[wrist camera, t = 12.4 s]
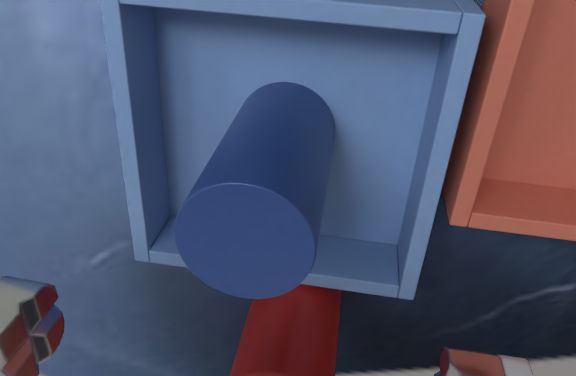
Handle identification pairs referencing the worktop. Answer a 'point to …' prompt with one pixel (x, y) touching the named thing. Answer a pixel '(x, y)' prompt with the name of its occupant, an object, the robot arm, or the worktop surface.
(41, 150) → the worktop surface
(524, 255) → the worktop surface
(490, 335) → the worktop surface
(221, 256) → the blue peg
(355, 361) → the worktop surface
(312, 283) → the blue bin
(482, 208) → the red bin
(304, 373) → the red peg
